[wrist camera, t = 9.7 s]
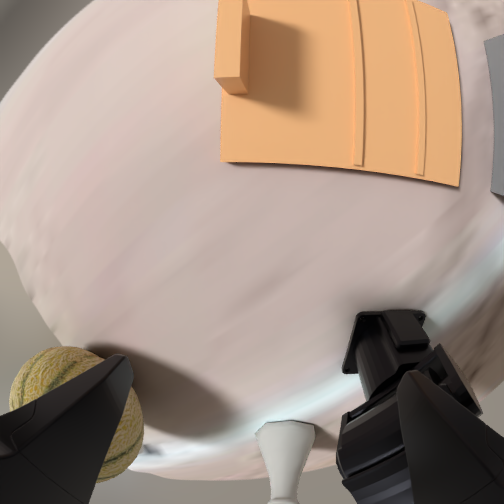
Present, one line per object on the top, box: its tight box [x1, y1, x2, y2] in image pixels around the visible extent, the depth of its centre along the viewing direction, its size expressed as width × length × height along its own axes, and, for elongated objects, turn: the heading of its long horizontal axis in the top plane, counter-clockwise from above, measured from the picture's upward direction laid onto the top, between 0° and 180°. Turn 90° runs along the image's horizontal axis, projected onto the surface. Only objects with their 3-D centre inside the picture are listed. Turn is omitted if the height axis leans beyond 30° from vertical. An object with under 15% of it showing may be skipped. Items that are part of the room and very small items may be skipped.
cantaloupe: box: [9, 346, 144, 483], centre depth 19 cm, size 15×15×15 cm
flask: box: [255, 421, 316, 504], centre depth 22 cm, size 7×7×10 cm
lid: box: [214, 0, 462, 186], centre depth 12 cm, size 15×17×5 cm
